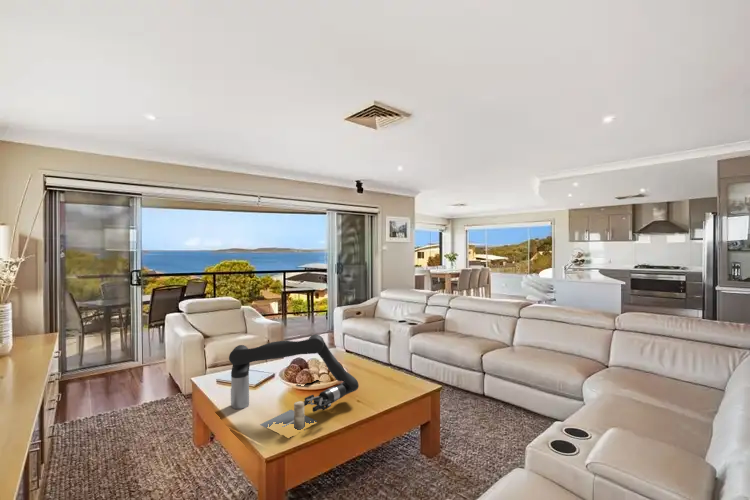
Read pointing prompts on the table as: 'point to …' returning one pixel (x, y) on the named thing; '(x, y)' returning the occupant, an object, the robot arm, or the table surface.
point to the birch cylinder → (299, 415)
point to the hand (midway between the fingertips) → (307, 407)
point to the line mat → (285, 419)
